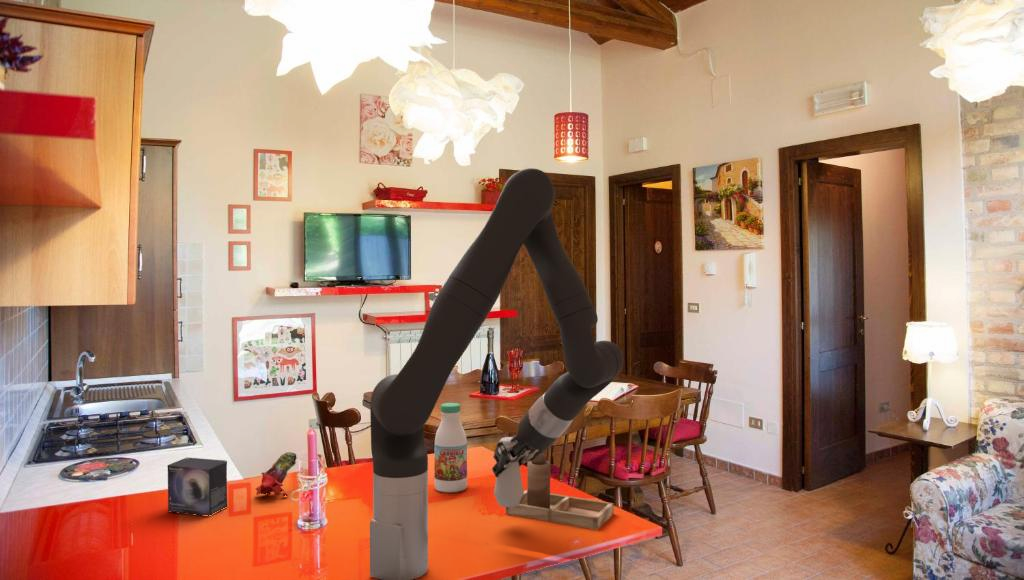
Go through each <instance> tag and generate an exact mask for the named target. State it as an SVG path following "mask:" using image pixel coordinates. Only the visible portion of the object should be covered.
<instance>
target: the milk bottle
mask: <svg viewBox="0 0 1024 580" xmlns="http://www.w3.org/2000/svg"><path fill="white" fill-rule="evenodd" d="M440 411H441V412H440V414H441V419H440V420H441V421H440V424H439V426H438V427H437V430H436V434H435V435H434V436H435V438H434V449H433V450H434V453H433V454H434V458H433V459H434V460H433V462H434V463H433V465H434V468H433V469H434V471H433V472H434V473H433V474H434V475H433V476H434V477H433V478H434V482H433V483H434V489H435V490H436V491H438V492H441V493H458V492H462V491H464V490H466V488H467V486H468V442H467V439H468V438H467V434H466V431H465V429H464V427H463V424H462V421H461V418H460V414H461V404H460V403H456V402H446V403H442V404H441V405H440Z"/></svg>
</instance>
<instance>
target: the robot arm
mask: <svg viewBox="0 0 1024 580" xmlns="http://www.w3.org/2000/svg"><path fill="white" fill-rule="evenodd" d="M555 195H556V194H555V187H554V184H553V182H552V180H551V178H550V177H549V175H548V174H547V173H546V172H544V170H541V169H539V168H531V167H529V168H524V169H521V170H518V171H517V172H515V173H514V174H512V175H511V176H510V177H509V178H508V179H507V181H506V182H505V184H504V186H503V188H502V190H501V192H500V194H499V197H498V199H497V201H496V203H495V205H494V207H493V210H492V211H491V213H490V215H489V217H488V219H487V220H486V223H485V225H484V226H483V228H482V229H481V231H480V233H479V234H478V236H477V237H476V238H475V239H474V241H473V242H472V244H471V245H470V246H468V249H467V250H466V252H465V253H464V254H463V256H462V257H461V259H460V260H459V261H458V262H457V264H456V266H455V268H454V269H453V270H452V272H451V273H450V275H449V276H448V278H447V279H446V281H445V282H444V284H443V286H442V287H441V289H440V290H439V292H438V294H437V295H436V298H435V299H434V301H433V303H432V305H431V308H430V311H429V313H428V315H427V319H426V321H425V323H424V327H423V330H422V333H421V335H420V338H419V341H418V343H417V344H416V347H415V349H414V350H413V352H412V354H411V355H410V357H409V358H408V360H407V361H406V363H405V364H404V365H403V367H402V369H401V370H400V371H399V372H398V373H395V374H390V375H388V376H386V377H384V378H382V379H381V380H380V381H378V383H377V384H376V385H375V387H374V389H373V391H372V393H371V397H370V410H369V411H370V413H369V414H370V415H369V416H370V417H369V418H370V449H371V451H370V452H371V457H372V466H373V467H372V515H373V516H372V519H371V520H370V522H369V577H371V578H373V579H379V580H414V579H418V578H420V577H423V576H424V575H426V573H427V572H428V570H429V459H428V458H429V456H428V451H427V448H426V442H425V426H424V425H425V424H426V423H427V422H428V420H429V418H430V417H431V414H432V413H433V410H434V409H435V406H436V405H437V402H438V400H439V398H440V396H441V394H442V391H443V389H444V387H445V385H446V383H447V381H448V379H449V377H450V375H451V374H452V372H453V369H454V368H455V366H456V365H457V363H458V361H459V360H460V358H461V357H462V356H463V355H464V353H465V351H466V350H467V349H468V347H469V346H470V344H471V343H472V341H473V339H474V337H475V336H476V334H477V333H478V331H479V329H480V328H481V327H482V325H484V322H485V321H486V319H487V318H488V316H489V314H490V312H491V311H492V309H493V308H494V305H495V304H496V302H497V300H498V298H499V297H500V295H501V292H502V290H503V288H504V287H505V285H506V281H508V277H509V275H510V273H511V271H512V267H513V266H514V262H515V261H516V258H517V256H518V254H519V252H520V249H521V248H522V247H523V246H524V247H525V249H526V251H527V253H528V255H529V257H530V260H531V261H532V263H533V266H534V268H535V271H536V273H537V276H538V278H539V281H540V282H541V285H542V289H543V291H544V293H545V296H546V298H547V299H546V300H547V301H548V304H549V307H550V308H551V311H552V314H553V316H554V319H555V321H556V323H557V326H558V327H559V330H560V341H561V346H562V352H563V358H564V363H565V367H566V370H567V372H565V373H563V374H562V375H560V376H558V378H557V379H555V381H553V383H552V384H551V385H550V387H548V389H547V390H546V391H545V392H544V394H542V395H541V396H539V398H538V399H537V400H536V401H535V402H534V403H533V404H532V406H531V407H530V408H529V410H527V412H526V413H525V414H524V415H523V417H522V418H521V419H519V422H518V425H517V433H516V434H515V435H514V436H512V437H513V438H512V439H511V441H510V443H508V444H505V445H504V444H503V442H499V441H498V443H497V444H496V446H495V450H494V453H493V456H492V457H493V459H494V460H495V462H496V463H495V464H494V466H492V468H491V470H492V473H493V474H494V477H496V478H497V477H498V476H499V474H501V473H502V471H504V470H506V469H507V468H508V467H509V466H510V465H511V464H512V463H513V462H518V461H519V467H520V468H521V466H522V465H525V464H526V463H527V462H528V461H533V460H534V459H535V458H537V457H538V456H539V455H540V454H542V453H543V454H544V452H546V451H547V450H548V449H550V448H551V447H552V446H553V445H554V444H555V442H557V440H558V439H559V438H560V437H561V436H562V435H563V434H564V432H566V431H567V429H568V428H569V427H570V425H571V424H572V422H573V421H574V420H575V419H576V417H577V416H578V415H579V414H580V413H581V412H582V410H583V409H584V408H585V407H586V406H587V404H588V403H589V402H590V401H591V400H592V399H593V398H595V397H596V396H597V395H598V394H599V393H601V392H602V391H603V390H604V389H606V387H608V386H609V385H610V384H611V383H612V382H613V381H614V380H615V379H616V378H617V377H618V376H619V374H620V373H621V371H622V369H623V365H624V356H623V352H622V350H621V348H620V347H619V345H617V344H616V343H615V342H612V341H609V340H598V341H595V340H594V337H593V330H592V329H593V328H594V327H595V326H596V325H597V323H598V315H597V310H596V309H595V308H596V307H595V306H594V304H593V301H592V299H591V296H590V295H589V292H588V290H587V288H586V285H585V283H584V281H583V279H582V278H581V276H580V275H581V274H579V272H578V270H577V269H576V267H575V266H574V264H573V263H572V261H571V258H569V256H568V254H567V252H566V250H565V248H564V246H563V244H562V242H561V239H560V237H559V234H558V231H557V228H556V225H555V221H554V217H553V216H554V215H553V212H552V210H553V206H554V204H555V199H556V198H555ZM507 456H508V457H509V460H507Z"/></svg>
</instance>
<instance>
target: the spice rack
mask: <svg viewBox="0 0 1024 580" xmlns="http://www.w3.org/2000/svg"><path fill="white" fill-rule="evenodd" d="M614 506H615V505H614V503H613V502H607V501H602V500H601V501H600V500H594V499H589V498H583V497H576V496H569V495H565V494H559V493H558V494H557V493H551V492H550V509H548V508H542V507H536V506H530V505H527V489H526V490H524V494H523V496H522V498H521V501H520V503H519V506H515V507H505V514H507V515H512V516H518V517H524V518H529V519H534V520H540V521H546V522H551V523H557V524H562V525H563V524H564V525H567V526H572V527H573V526H574V527H580V528H585V529H590V530H598V529H599V528H601V527H602V526H603V525H604V524H605V523H606V522H607V521H608V520H609V519H610V518H611V517H612V516H613V515H614Z"/></svg>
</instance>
